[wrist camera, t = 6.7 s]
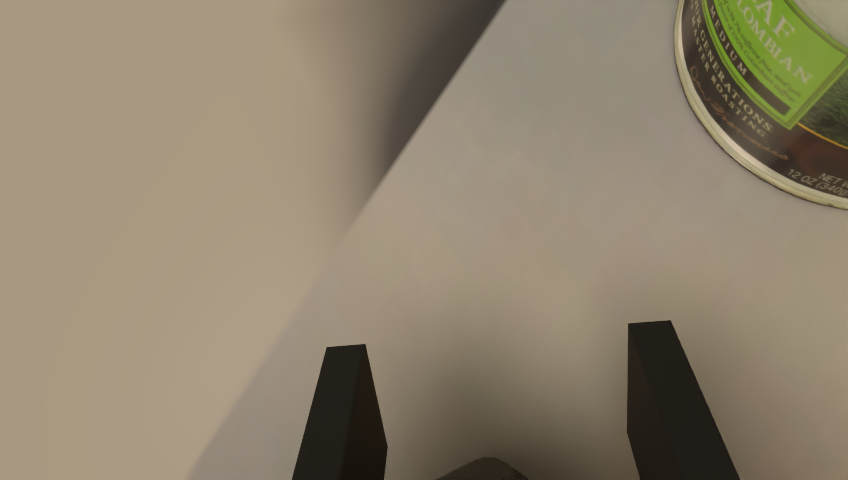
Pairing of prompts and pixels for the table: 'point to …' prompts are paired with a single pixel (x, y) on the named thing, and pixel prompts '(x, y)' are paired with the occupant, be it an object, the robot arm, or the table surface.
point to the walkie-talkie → (485, 471)
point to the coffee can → (772, 88)
